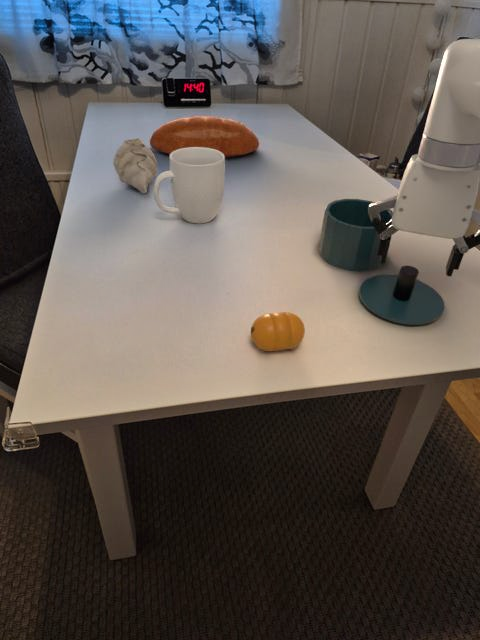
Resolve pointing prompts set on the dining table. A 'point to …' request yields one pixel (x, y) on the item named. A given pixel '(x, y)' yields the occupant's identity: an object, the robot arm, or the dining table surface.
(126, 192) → the dining table surface
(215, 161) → the mug
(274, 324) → the orange ribbed oval piece
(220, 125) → the bread
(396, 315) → the lid
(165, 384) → the dining table surface
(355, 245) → the pot
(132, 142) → the seashell
